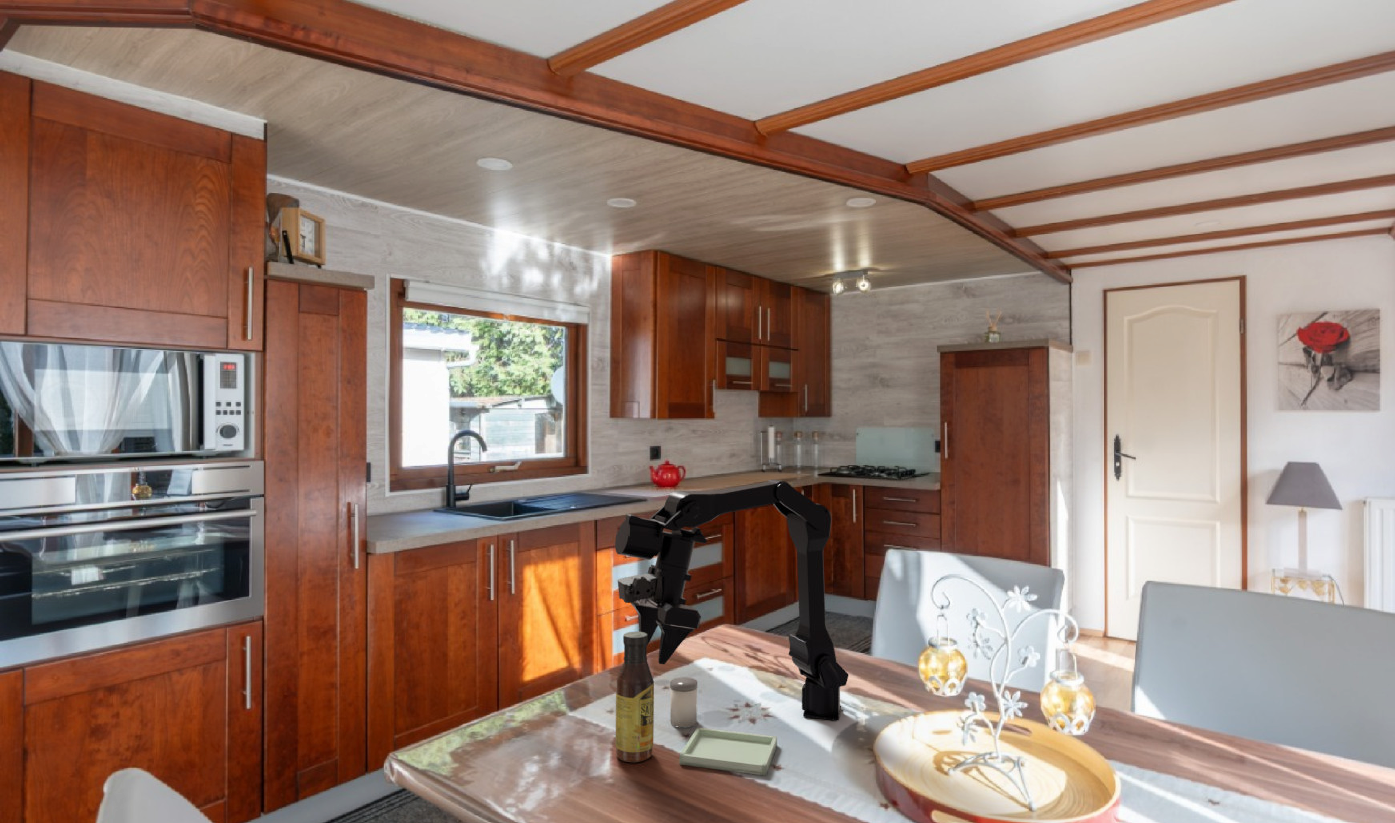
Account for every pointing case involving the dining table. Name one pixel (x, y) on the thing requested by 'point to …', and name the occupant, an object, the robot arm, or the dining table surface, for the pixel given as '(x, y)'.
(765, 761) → the tray
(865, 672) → the dining table surface
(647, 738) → the sauce bottle
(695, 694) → the spice jar
